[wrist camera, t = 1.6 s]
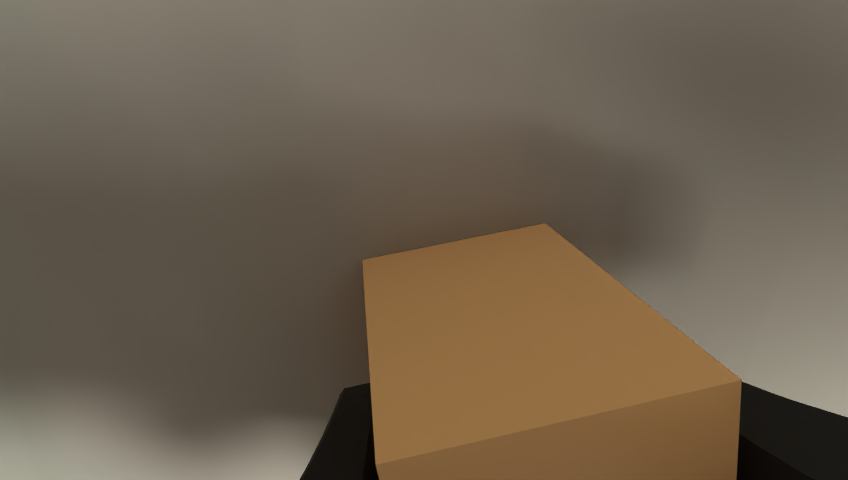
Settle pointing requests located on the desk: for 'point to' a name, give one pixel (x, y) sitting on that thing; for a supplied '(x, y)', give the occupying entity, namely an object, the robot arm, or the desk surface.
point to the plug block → (535, 370)
